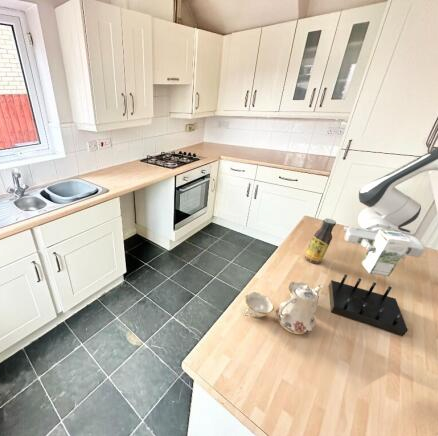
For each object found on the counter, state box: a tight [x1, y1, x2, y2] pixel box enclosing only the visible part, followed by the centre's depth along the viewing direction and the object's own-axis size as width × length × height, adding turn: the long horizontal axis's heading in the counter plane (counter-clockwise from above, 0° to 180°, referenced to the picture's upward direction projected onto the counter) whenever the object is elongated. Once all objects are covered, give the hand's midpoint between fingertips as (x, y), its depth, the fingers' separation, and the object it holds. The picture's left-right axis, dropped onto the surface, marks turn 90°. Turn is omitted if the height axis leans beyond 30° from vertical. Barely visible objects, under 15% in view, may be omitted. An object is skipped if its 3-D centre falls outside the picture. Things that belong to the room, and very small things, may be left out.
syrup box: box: [361, 230, 411, 277], centre depth 79 cm, size 6×6×14 cm
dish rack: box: [328, 274, 409, 337], centre depth 80 cm, size 18×14×8 cm
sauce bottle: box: [304, 218, 337, 264], centre depth 100 cm, size 7×6×20 cm
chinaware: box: [243, 281, 323, 336], centre depth 77 cm, size 28×17×17 cm, turn 111°
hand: (386, 252), depth 78 cm, fingers closed on syrup box, 6 cm apart
